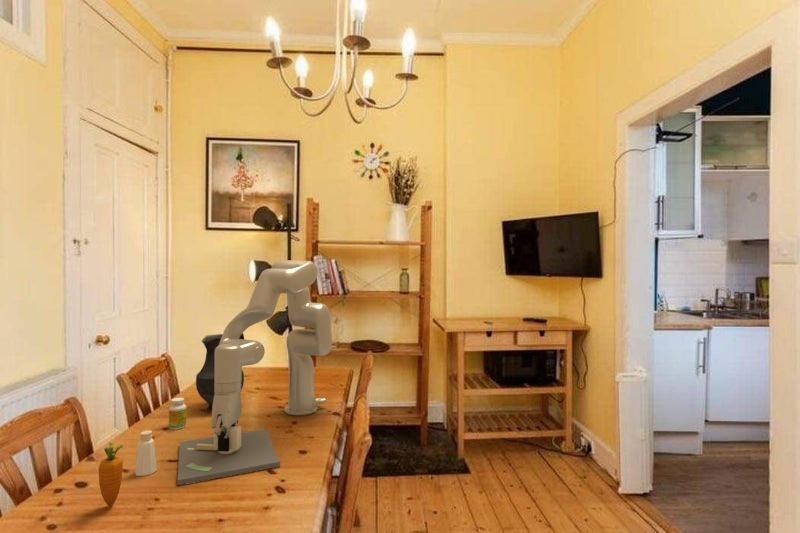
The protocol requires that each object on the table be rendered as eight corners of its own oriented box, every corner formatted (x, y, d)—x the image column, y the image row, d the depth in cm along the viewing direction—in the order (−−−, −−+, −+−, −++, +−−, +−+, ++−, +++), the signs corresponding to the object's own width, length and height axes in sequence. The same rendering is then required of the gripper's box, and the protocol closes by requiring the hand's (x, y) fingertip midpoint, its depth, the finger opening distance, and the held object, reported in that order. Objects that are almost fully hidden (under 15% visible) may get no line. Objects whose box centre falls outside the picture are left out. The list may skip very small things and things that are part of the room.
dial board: (265, 433, 148) (265, 428, 148) (280, 466, 125) (280, 461, 125) (179, 446, 137) (179, 441, 137) (177, 486, 114) (177, 479, 114)
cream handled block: (242, 447, 133) (242, 425, 133) (235, 454, 128) (235, 431, 128) (201, 445, 134) (201, 423, 134) (192, 452, 129) (192, 429, 129)
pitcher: (185, 411, 168) (186, 333, 167) (226, 396, 187) (226, 326, 187) (221, 418, 161) (221, 337, 161) (259, 401, 181) (259, 329, 180)
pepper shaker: (141, 478, 117) (141, 437, 117) (130, 472, 120) (130, 433, 120) (161, 470, 122) (161, 430, 122) (150, 465, 125) (150, 426, 124)
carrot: (105, 500, 106) (106, 439, 106) (127, 500, 107) (127, 439, 106) (93, 512, 101) (93, 448, 101) (115, 512, 102) (116, 447, 101)
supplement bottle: (179, 430, 150) (179, 402, 150) (165, 429, 151) (165, 401, 151) (189, 424, 155) (189, 397, 155) (176, 423, 156) (176, 396, 156)
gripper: (229, 378, 139) (228, 435, 140) (200, 394, 122) (200, 459, 123) (252, 379, 139) (251, 436, 139) (226, 395, 122) (226, 460, 122)
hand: (227, 446), depth 131 cm, fingers closed on cream handled block, 4 cm apart
